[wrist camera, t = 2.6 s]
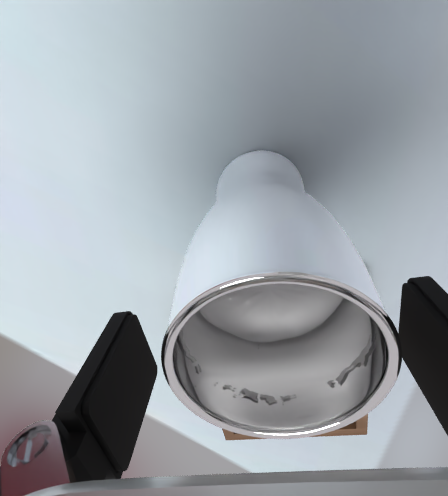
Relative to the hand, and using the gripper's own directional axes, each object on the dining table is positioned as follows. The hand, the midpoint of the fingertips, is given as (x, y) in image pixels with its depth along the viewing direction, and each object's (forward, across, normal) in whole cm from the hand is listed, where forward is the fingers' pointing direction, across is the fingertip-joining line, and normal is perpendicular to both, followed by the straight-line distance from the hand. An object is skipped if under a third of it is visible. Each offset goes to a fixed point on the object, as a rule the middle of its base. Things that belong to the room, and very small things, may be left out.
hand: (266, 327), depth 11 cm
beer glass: (+13, 0, -1) cm, 13 cm away
